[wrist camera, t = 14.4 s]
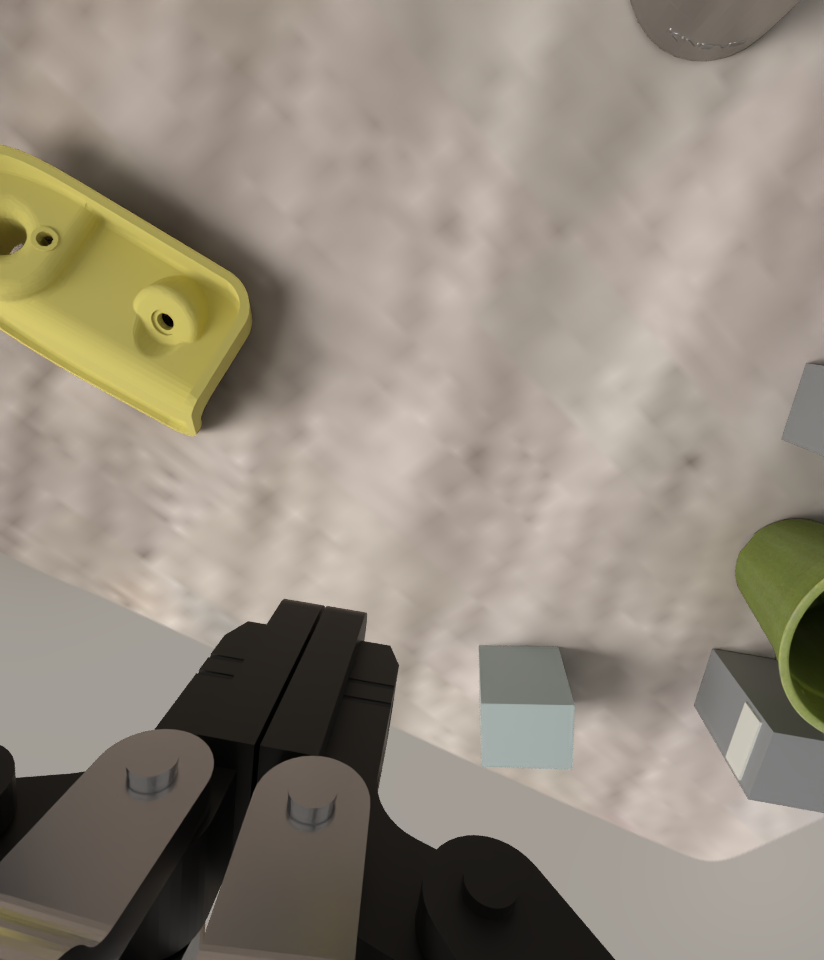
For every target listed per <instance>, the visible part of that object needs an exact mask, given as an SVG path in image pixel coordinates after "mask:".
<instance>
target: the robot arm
mask: <svg viewBox="0 0 824 960" xmlns="http://www.w3.org/2000/svg"><path fill="white" fill-rule="evenodd" d="M800 1H801V0H631V5H632V7H633V10H634V13H635V15H636V18H637V21H638V23H639V24H640V26H641V27H642V29H643V30H644V32H645V33H646V35H647V36H648V37H649V38H650V39H651V40H652V41H653V42H654V43H655V44H656V45H657V46H658V47H659V48H660V49H662V50H664V51H666V52H668V53H670V54H671V55H673V56H675V57H679V58H683V59H687V60H691V61H711V60H715V59H720V58H724V57H728V56H730V55H732V54H735V53H737V52H739V51H741V50H743V49H745V48H747V47H748V46H749V45H751V44H752V43H754V42H755V41H756V40H758V39H759V38H760V37H762V36H763V35H764V34H765V33H766V32H767V31H768V30H769V29H770V28H771V27H773V26H774V25H775V24H776V23H777V22H778V21H779V20H780V19H781V18H782V17H783V16H784V15H785V14H787V13H788V12H789V11H790V10H791V9H792V8H793V7H794V6H795V5H796V4H798V3H799V2H800ZM366 623H367V613H365V612H359V611H353V610H348V609H342V608H336V607H330V606H327V607H326V608H325V606H323V605H318V604H312V603H306V602H300V601H294V600H288V599H283V600H282V601H281V603H280V604H279V606H278V608H277V609H276V611H275V612H274V614H273V615H272V617H271V619H270V620H269V622H268V623H267V625H266V624H260V623H255V622H249V621H248V622H246V623H245V624H243V625H241V626H239V627H238V628H236V629H234V630H233V631H231V632H229V633H228V634H226V635H225V636H224V637H223V638H222V640H221V641H220V642H219V644H218V645H217V646H216V648H215V649H214V650H213V652H212V653H211V656H210V658H207V660H206V661H205V663H204V664H203V665H202V667H201V668H200V670H199V673H198V674H196V675H195V676H194V678H193V679H192V680H191V681H190V683H189V684H188V685H187V687H186V688H185V689H184V691H183V692H182V693H181V695H180V696H179V697H178V699H177V700H176V701H175V703H174V704H173V705H172V707H171V708H170V710H169V711H168V712H167V713H166V715H165V716H164V717H163V719H162V720H161V721H160V723H159V724H158V726H157V727H156V728H155V730H151V731H145V732H141V733H138V734H135V735H132V736H130V737H127V738H125V739H123V740H121V741H119V742H117V743H116V744H114V745H113V746H111V747H110V748H108V749H107V750H106V751H105V752H104V753H103V754H102V755H101V756H99V758H98V759H97V760H96V761H95V762H94V763H93V764H92V765H91V766H90V767H89V768H88V769H87V770H86V771H85V772H79V773H71V774H60V775H47V776H36V777H22V778H16V777H15V763H14V760H13V756H12V755H11V753H10V752H9V751H8V750H7V749H6V748H4V747H3V746H1V745H0V960H615V959H614V958H613V957H612V955H611V954H610V953H609V952H608V951H607V950H606V948H605V947H604V946H603V945H602V944H601V943H600V941H599V940H598V939H597V938H596V937H595V935H594V934H593V933H592V932H591V931H590V929H589V928H588V927H587V926H586V925H585V924H584V922H583V921H582V920H581V919H580V918H579V917H578V915H577V914H576V913H575V912H574V911H573V909H572V908H571V907H570V906H569V905H568V904H567V902H566V901H565V900H564V899H563V898H562V897H561V895H560V894H559V893H558V892H557V891H556V889H555V888H554V887H553V886H552V885H551V884H550V882H549V881H548V880H547V879H546V878H545V877H544V875H543V874H542V873H541V872H540V871H539V870H538V868H537V867H536V866H535V865H534V864H533V863H532V862H531V861H530V860H529V859H528V858H527V857H526V856H525V855H523V854H522V853H521V852H520V851H519V850H517V849H515V848H514V847H512V846H510V845H509V844H506V843H504V842H502V841H500V840H497V839H494V838H490V837H485V836H476V835H471V836H470V835H468V836H463V837H457V838H455V839H452V840H449V841H448V842H446V843H444V844H443V845H441V846H440V847H439V848H438V849H437V850H436V849H434V848H433V847H431V846H429V845H427V844H425V843H423V842H421V841H419V840H417V839H415V838H414V837H412V836H410V835H409V834H407V833H406V832H404V831H403V830H402V829H400V828H399V827H398V826H397V825H396V824H395V823H394V822H393V821H392V820H391V819H390V817H389V816H388V815H387V813H386V812H385V810H384V808H383V806H382V804H381V802H380V800H379V795H378V788H379V782H380V777H381V772H382V766H383V761H384V755H385V750H386V745H387V739H388V732H389V726H390V720H391V713H392V707H393V700H394V694H395V687H396V681H397V674H398V668H399V664H398V662H397V660H396V658H395V655H394V653H393V651H392V649H391V646H388V645H382V644H377V643H371V642H365V641H364V638H365V631H366ZM221 884H222V885H221ZM220 887H221V888H220ZM219 889H220V891H219ZM218 891H219V894H218V897H217V900H216V903H215V906H214V909H213V911H212V915H211V917H210V920H209V923H208V926H207V929H206V932H205V921H206V919H207V917H208V915H209V912H210V910H211V908H212V905H213V903H214V900H215V898H216V896H217V893H218Z"/></svg>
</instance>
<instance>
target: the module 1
mask: <svg viewBox="0 0 824 960" xmlns="http://www.w3.org/2000/svg"><path fill="white" fill-rule="evenodd" d="M479 703H480V731H481V759H482V767H505V768H539V769H572V763H573V737H574V711H575V705H574V701H573V697H572V694H571V690H570V687H569V683H568V679H567V676H566V672H565V669H564V665H563V661H562V658H561V654H560V651H559V647H558V646H479Z"/></svg>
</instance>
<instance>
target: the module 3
mask: <svg viewBox="0 0 824 960" xmlns="http://www.w3.org/2000/svg"><path fill="white" fill-rule="evenodd" d="M782 440H785V441H787V442H790V443H792V444H795V445H797V446H800V447H802V448H805V449H807V450H809V451H812V452H814V453H817V454H819V455H822V456H824V366H823V365H816V364H809V363H806V366H805V369H804V372H803V375H802V378H801V381H800V384H799V387H798V390H797V393H796V397H795V400H794V403H793V406H792V409H791V412H790V415H789V418H788V421H787V424H786V427H785V430H784V433H783V436H782Z"/></svg>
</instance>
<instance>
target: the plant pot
mask: <svg viewBox="0 0 824 960" xmlns="http://www.w3.org/2000/svg"><path fill="white" fill-rule="evenodd" d="M735 576H736V582H737V585H738V588H739V590H740V592H741V594H742V595H743V597H744V599H745V600H746V602H747V604H748V606H749V608H750V609H751V611H752V612H753V614H754V616H755V617H756V619H757V621H758V622H759V624H760V626H761V628H762V629H763V631H764V633H765V634H766V636H767V638H768V639H769V641H770V643H771V645H772V646H773V648H774V652H775V655H776V658H777V660H778V667H779V675H780V679H781V683H782V686H783V689H784V691H785V693H786V696H787V698H788V699H789V701H790V703H791V704H792V706H793V707H794V709H795V710H796V711H797V713H798V714H799V715H800V716H801V717H802V718H803V719H804V720H805V721H807V722H808V723H809V724H811V725H812V726H813V727H815V728H816V729H818V730H819V731H821V732H823V733H824V524H822V523H819V522H815V521H811V520H806V519H787V520H782V521H778V522H775V523H773V524H770V525H768V526H766V527H764V528H762V529H761V530H759V531H758V532H757V533H755V534H754V536H753V537H752V539H751V540H750V541H749V543H748V544H747V545H746V546H745V547H744V548H743V549H742V550H741V552H740V554H739V556H738V559H737V563H736V570H735Z"/></svg>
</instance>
